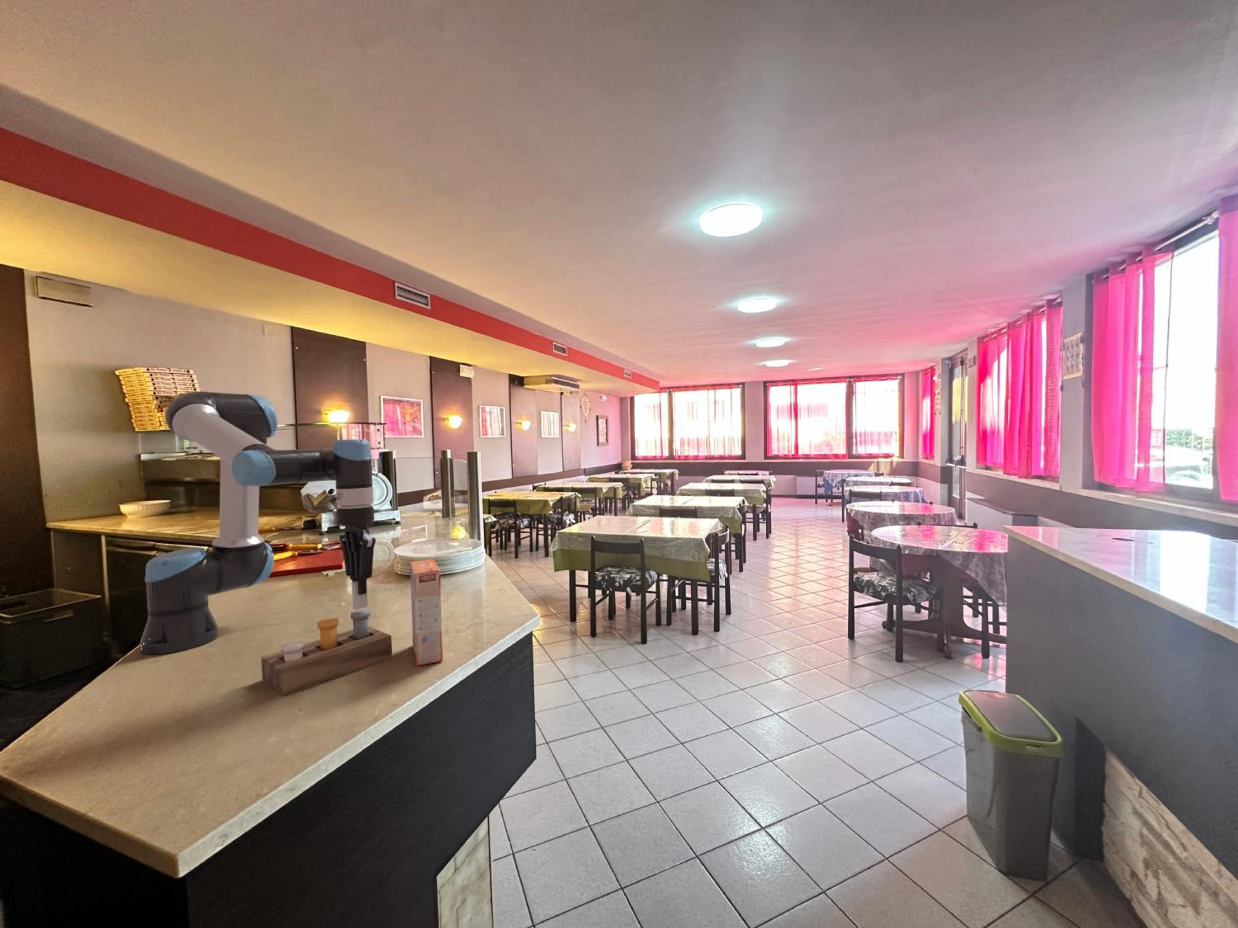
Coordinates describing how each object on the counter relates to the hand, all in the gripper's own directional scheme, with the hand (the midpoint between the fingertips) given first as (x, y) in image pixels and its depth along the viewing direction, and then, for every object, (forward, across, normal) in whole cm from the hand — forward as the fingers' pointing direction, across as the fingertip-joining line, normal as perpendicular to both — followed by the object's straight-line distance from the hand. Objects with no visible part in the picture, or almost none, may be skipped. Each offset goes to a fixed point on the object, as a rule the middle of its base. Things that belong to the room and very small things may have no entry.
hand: (360, 607), depth 115 cm
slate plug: (+8, 0, 0) cm, 8 cm away
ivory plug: (+11, 0, -14) cm, 18 cm away
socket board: (+12, 0, -7) cm, 14 cm away
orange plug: (+8, 0, -7) cm, 11 cm away
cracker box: (+12, +11, +10) cm, 19 cm away
